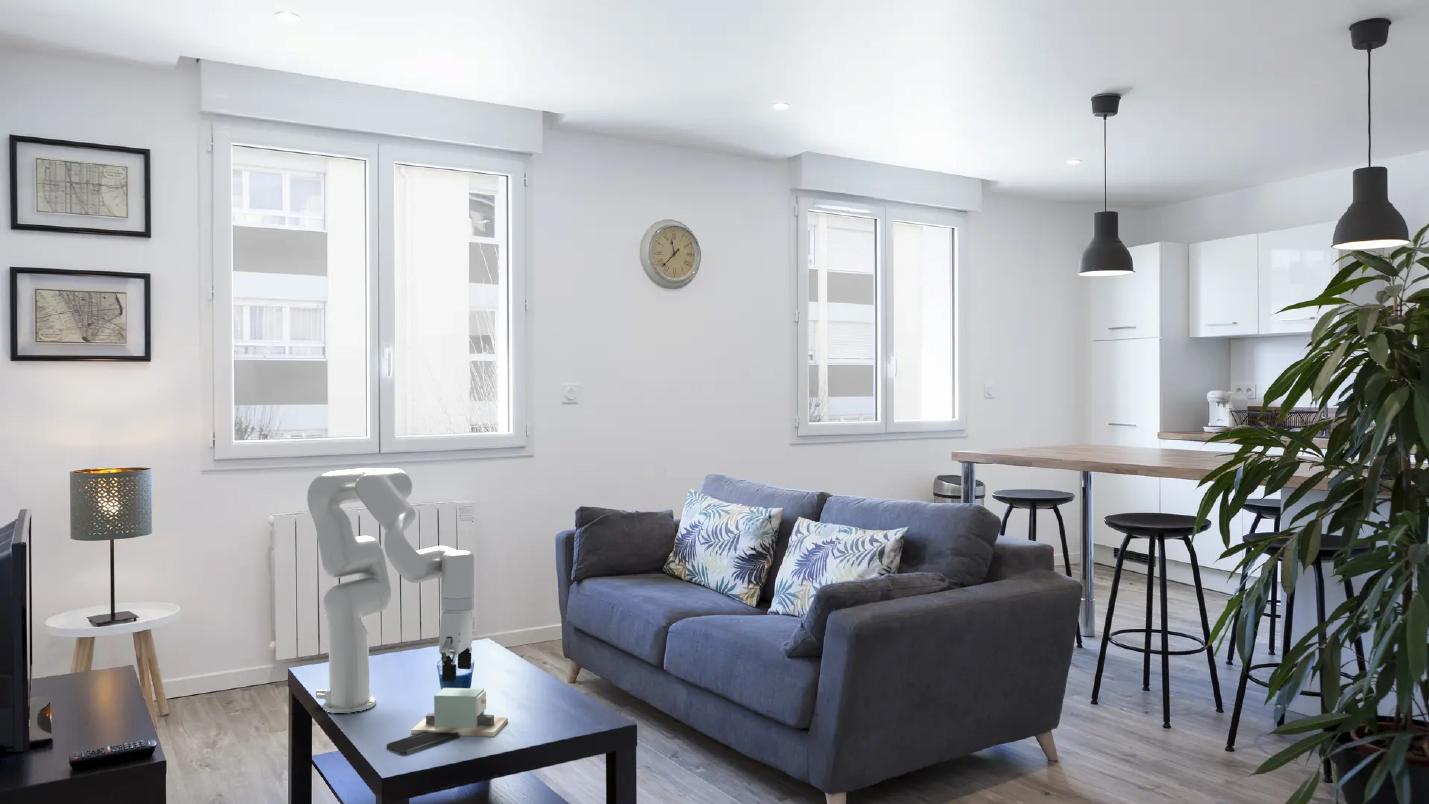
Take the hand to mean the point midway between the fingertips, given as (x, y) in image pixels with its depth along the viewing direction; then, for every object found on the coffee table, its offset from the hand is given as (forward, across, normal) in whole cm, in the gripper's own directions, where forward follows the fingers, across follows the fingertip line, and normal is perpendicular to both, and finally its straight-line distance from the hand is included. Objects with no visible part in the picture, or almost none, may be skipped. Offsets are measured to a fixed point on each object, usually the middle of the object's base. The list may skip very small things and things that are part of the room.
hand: (456, 674), depth 237 cm
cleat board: (+12, 0, +1) cm, 13 cm away
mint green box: (+12, 0, +1) cm, 12 cm away
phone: (+13, +10, -4) cm, 17 cm away
